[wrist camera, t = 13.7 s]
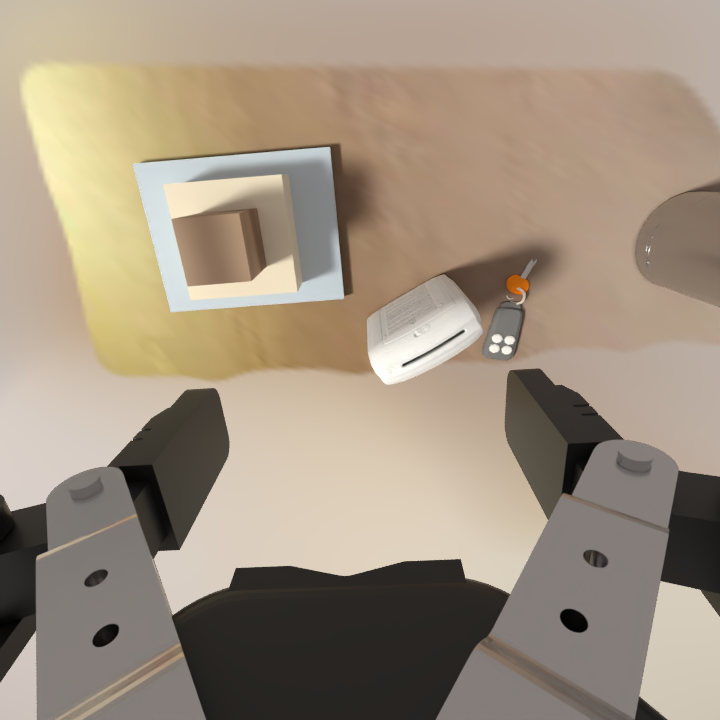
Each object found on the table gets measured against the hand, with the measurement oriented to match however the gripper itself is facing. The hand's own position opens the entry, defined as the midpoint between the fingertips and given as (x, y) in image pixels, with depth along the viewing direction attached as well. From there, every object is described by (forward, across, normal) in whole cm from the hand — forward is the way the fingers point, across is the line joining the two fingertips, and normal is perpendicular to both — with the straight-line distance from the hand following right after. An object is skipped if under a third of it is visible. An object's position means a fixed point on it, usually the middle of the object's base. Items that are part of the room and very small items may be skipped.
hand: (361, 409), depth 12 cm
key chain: (+35, -15, +7) cm, 38 cm away
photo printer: (+34, -4, +7) cm, 35 cm away
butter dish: (+33, +12, -2) cm, 35 cm away
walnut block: (+28, +12, -2) cm, 31 cm away
